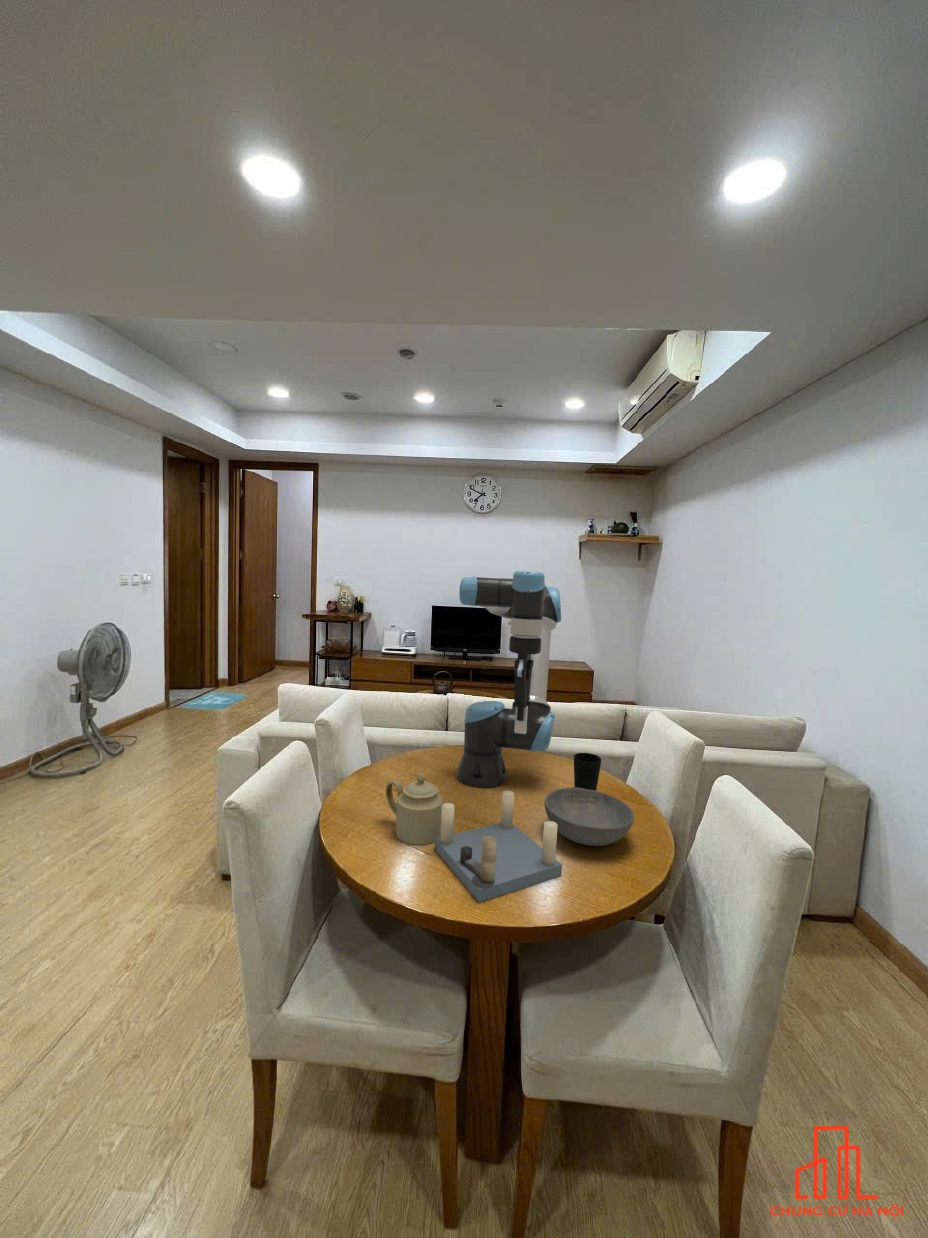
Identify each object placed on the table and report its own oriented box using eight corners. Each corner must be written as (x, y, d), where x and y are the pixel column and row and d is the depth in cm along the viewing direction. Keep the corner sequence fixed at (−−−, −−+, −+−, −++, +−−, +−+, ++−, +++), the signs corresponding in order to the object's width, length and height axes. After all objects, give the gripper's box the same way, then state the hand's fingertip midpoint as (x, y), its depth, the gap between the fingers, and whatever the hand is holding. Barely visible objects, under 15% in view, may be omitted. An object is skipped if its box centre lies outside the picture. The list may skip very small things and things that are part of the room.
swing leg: (457, 859, 102) (458, 823, 101) (467, 855, 104) (469, 820, 103) (486, 884, 94) (488, 845, 94) (497, 879, 96) (499, 841, 95)
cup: (599, 806, 135) (602, 764, 134) (571, 802, 137) (573, 760, 136) (597, 794, 143) (600, 754, 142) (570, 791, 144) (573, 751, 143)
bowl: (537, 813, 130) (539, 784, 129) (617, 817, 130) (619, 788, 129) (549, 859, 109) (551, 824, 108) (644, 864, 108) (646, 829, 108)
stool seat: (433, 849, 111) (435, 803, 110) (508, 830, 120) (510, 788, 119) (478, 903, 93) (481, 849, 92) (561, 876, 103) (565, 827, 102)
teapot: (373, 841, 113) (375, 778, 112) (386, 818, 124) (388, 760, 123) (437, 848, 112) (440, 784, 110) (445, 823, 122) (447, 765, 121)
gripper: (515, 632, 124) (510, 723, 126) (504, 637, 112) (499, 738, 114) (544, 634, 122) (539, 726, 124) (537, 640, 110) (531, 743, 112)
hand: (520, 732), depth 119 cm, fingers closed
